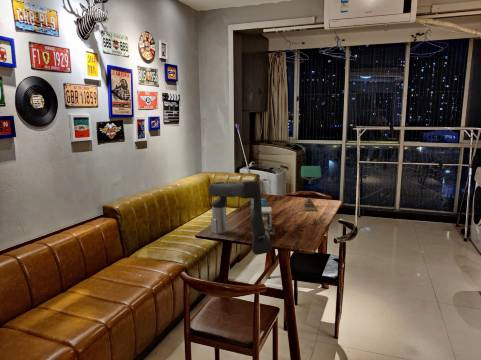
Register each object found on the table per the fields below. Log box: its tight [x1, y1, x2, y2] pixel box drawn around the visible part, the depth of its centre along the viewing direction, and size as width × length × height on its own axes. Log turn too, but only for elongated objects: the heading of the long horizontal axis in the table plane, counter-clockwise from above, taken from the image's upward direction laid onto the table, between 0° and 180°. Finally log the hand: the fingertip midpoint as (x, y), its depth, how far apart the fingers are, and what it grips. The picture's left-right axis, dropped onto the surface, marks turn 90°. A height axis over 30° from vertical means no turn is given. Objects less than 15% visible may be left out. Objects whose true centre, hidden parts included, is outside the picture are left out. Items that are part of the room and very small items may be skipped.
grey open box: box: [267, 215, 270, 229], centre depth 248 cm, size 10×9×6 cm
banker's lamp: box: [300, 165, 322, 212], centre depth 290 cm, size 16×21×35 cm
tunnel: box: [262, 206, 272, 227], centre depth 238 cm, size 10×11×14 cm
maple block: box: [262, 213, 269, 229], centre depth 233 cm, size 6×12×11 cm, turn 176°
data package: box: [250, 198, 268, 214], centre depth 277 cm, size 12×4×12 cm, turn 75°
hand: (263, 228), depth 218 cm, fingers open, 8 cm apart
